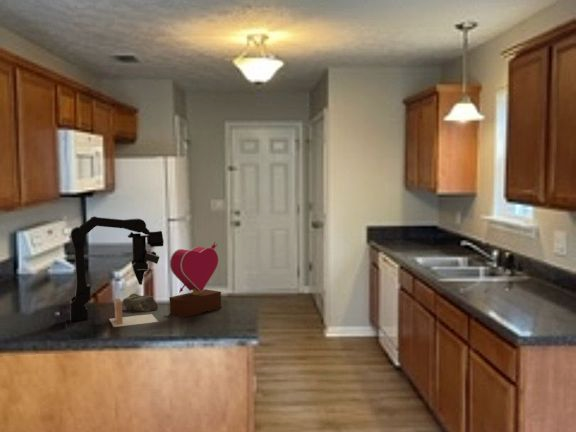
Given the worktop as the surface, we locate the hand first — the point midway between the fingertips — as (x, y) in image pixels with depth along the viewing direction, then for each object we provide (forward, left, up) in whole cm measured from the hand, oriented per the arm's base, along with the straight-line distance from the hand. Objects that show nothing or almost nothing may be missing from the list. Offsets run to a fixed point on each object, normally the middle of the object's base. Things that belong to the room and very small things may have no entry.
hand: (140, 282), depth 265 cm
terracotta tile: (-11, -11, -14) cm, 21 cm away
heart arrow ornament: (+25, -5, -14) cm, 29 cm away
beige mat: (-5, -11, -14) cm, 19 cm away
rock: (+1, +8, -15) cm, 16 cm away
